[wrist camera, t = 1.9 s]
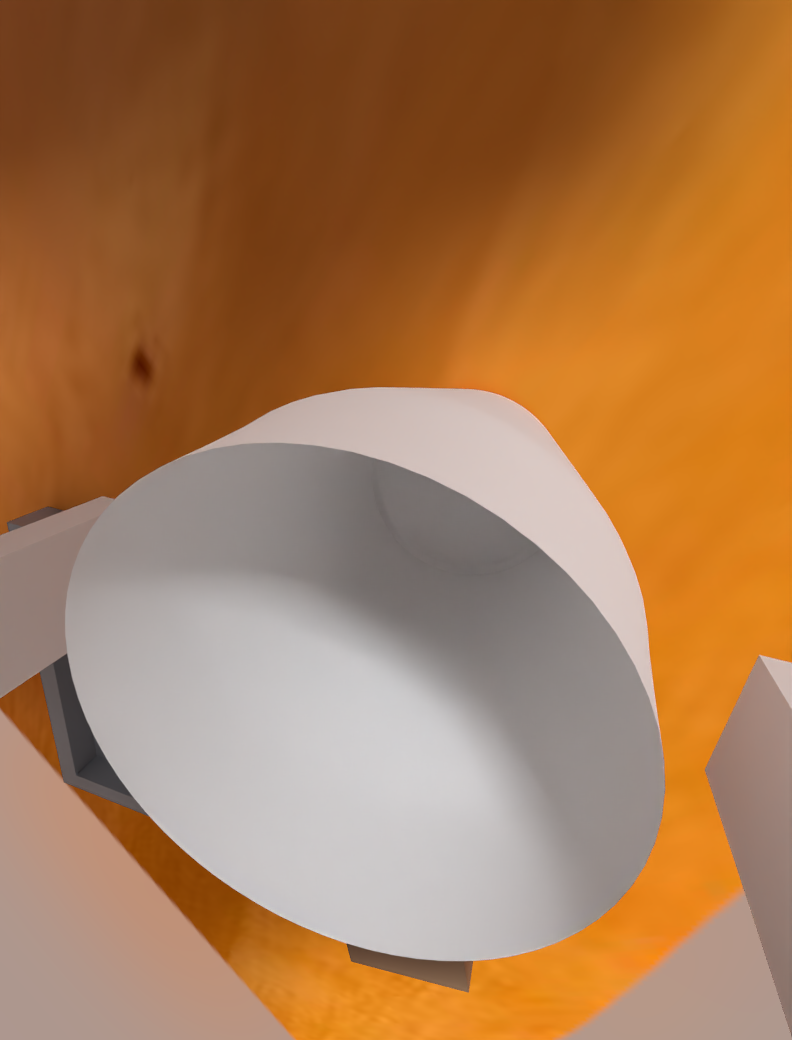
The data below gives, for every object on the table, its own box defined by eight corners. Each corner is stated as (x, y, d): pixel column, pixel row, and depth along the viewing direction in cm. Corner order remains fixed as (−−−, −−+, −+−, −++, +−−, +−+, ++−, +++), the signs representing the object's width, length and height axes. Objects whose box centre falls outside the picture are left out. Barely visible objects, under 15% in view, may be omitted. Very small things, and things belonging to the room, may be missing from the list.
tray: (47, 506, 24) (7, 522, 22) (370, 588, 21) (352, 615, 19) (93, 754, 31) (64, 782, 29) (344, 850, 27) (328, 888, 25)
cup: (404, 623, 21) (236, 957, 10) (302, 414, 19) (-45, 554, 8) (642, 564, 17) (774, 987, 6) (548, 296, 15) (513, 264, 4)
